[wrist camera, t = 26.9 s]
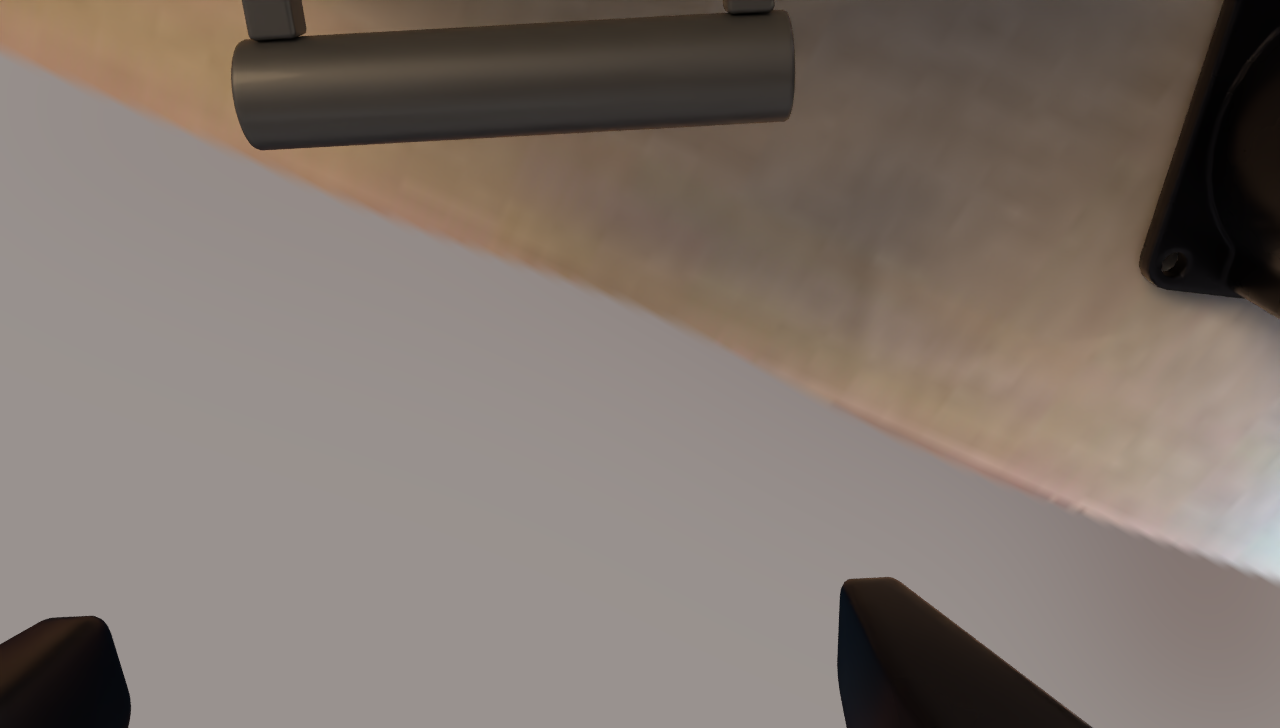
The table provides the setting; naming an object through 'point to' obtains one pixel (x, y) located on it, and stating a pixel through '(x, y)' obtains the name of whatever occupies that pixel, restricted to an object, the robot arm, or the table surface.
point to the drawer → (508, 77)
